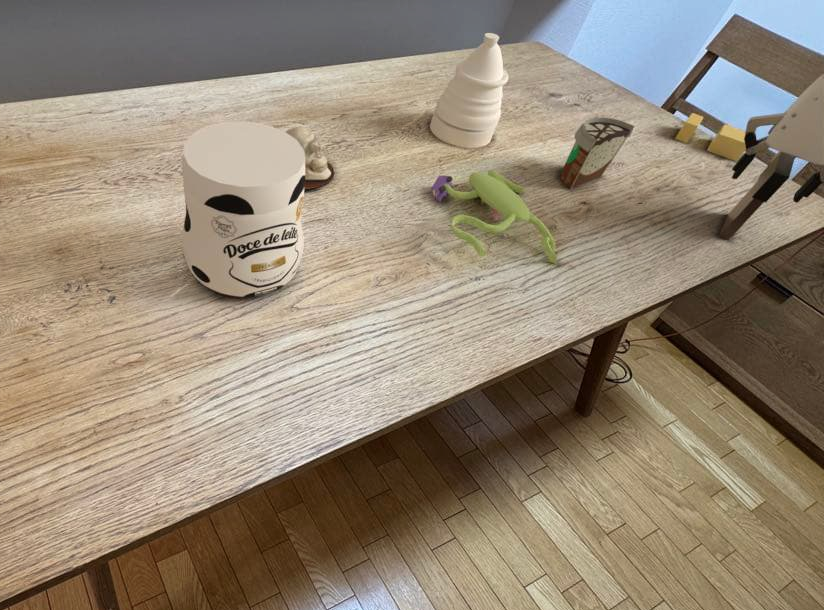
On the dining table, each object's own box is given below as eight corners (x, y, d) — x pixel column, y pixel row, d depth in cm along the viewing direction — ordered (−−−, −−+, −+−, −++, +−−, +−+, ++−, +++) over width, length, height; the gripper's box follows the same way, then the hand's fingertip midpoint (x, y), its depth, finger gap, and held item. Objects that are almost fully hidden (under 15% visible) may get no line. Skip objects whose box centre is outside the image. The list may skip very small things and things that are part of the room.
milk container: (267, 325, 71) (275, 210, 56) (161, 280, 75) (143, 161, 60) (318, 256, 81) (336, 142, 66) (222, 219, 84) (220, 103, 69)
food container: (579, 162, 104) (608, 110, 96) (604, 177, 101) (636, 125, 93) (539, 176, 100) (566, 123, 91) (564, 193, 97) (594, 140, 89)
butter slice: (690, 135, 115) (703, 116, 112) (684, 145, 112) (698, 126, 109) (679, 131, 116) (692, 112, 112) (673, 140, 113) (686, 122, 109)
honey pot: (479, 156, 102) (519, 54, 87) (419, 135, 105) (449, 33, 91) (498, 131, 109) (539, 32, 94) (442, 111, 112) (473, 13, 97)
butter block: (739, 152, 112) (754, 134, 108) (734, 163, 109) (750, 144, 106) (710, 142, 114) (724, 123, 110) (705, 152, 111) (719, 133, 107)
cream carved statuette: (348, 162, 95) (339, 136, 85) (322, 214, 97) (309, 195, 87) (293, 138, 98) (277, 110, 88) (268, 189, 99) (251, 168, 90)
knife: (765, 202, 85) (789, 177, 81) (751, 197, 86) (774, 171, 82) (778, 162, 93) (800, 138, 90) (765, 158, 94) (787, 133, 90)
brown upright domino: (735, 220, 96) (771, 180, 89) (726, 242, 91) (764, 202, 85) (726, 216, 96) (761, 176, 90) (717, 238, 92) (753, 198, 85)
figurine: (447, 272, 81) (460, 242, 76) (420, 176, 96) (429, 147, 92) (560, 278, 82) (579, 249, 77) (516, 183, 97) (529, 154, 93)
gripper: (935, 88, 72) (823, 198, 86) (801, 49, 78) (715, 159, 92) (937, 106, 69) (819, 218, 83) (795, 64, 74) (707, 175, 88)
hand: (764, 187), depth 87 cm, fingers open, 9 cm apart
